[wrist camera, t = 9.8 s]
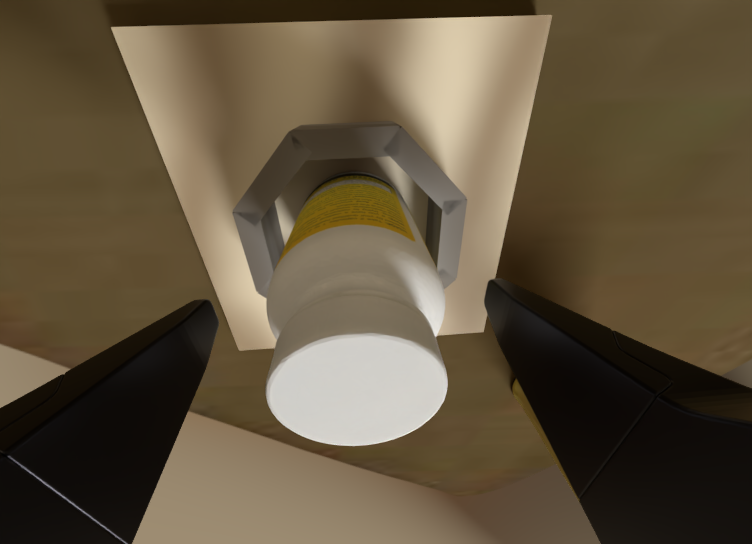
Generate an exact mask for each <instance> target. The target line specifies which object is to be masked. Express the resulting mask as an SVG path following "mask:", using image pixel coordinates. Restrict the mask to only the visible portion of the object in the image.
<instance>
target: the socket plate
mask: <svg viewBox="0 0 752 544" xmlns="http://www.w3.org/2000/svg"><path fill="white" fill-rule="evenodd" d="M551 19H552V15H531V16H495V17H459V18H422V19H386V20H350V21H314V22H278V23H241V24H205V25H169V26H133V27H111V29H112V32H113V34H114V37H115V39H116V42H117V44H118V47H119V49H120V52H121V54H122V57H123V59H124V62H125V64H126V67H127V69H128V72H129V74H130V77H131V79H132V82H133V85H134V87H135V90H136V92H137V95H138V97H139V100H140V102H141V105H142V107H143V110H144V112H145V115H146V117H147V120H148V122H149V125H150V127H151V130H152V132H153V135H154V137H155V140H156V142H157V145H158V147H159V150H160V152H161V155H162V158H163V160H164V163H165V165H166V168H167V170H168V173H169V175H170V178H171V180H172V183H173V185H174V188H175V190H176V193H177V195H178V198H179V200H180V203H181V205H182V208H183V210H184V213H185V215H186V218H187V220H188V223H189V225H190V228H191V231H192V233H193V236H194V238H195V241H196V243H197V246H198V248H199V251H200V253H201V256H202V258H203V261H204V263H205V266H206V268H207V271H208V273H209V276H210V278H211V281H212V283H213V286H214V288H215V291H216V293H217V296H218V298H219V301H220V304H221V306H222V309H223V311H224V314H225V316H226V319H227V321H228V324H229V326H230V329H231V331H232V334H233V336H234V339H235V341H236V344H237V346H238V349H239V351H242V350H255V349H268V348H275V346H276V342H277V340H276V338H275V337H274V335H273V333H272V331H271V328H270V325H269V321H268V317H267V310H266V301H267V293H268V288H269V285H270V281H271V278H272V275H273V273H274V270H275V268H276V266H277V263H278V261H279V259H280V257H281V254H282V252H283V250H284V248H285V245H286V243H287V241H288V238H289V236H290V234H291V232H292V229H293V227H294V225H295V223H296V220H297V218H298V216H299V213H300V211H301V209H302V206H303V204H304V203H305V201H306V199H307V198H308V197H309V195H310V194H311V192H312V191H313V190H314V189H315V188H316V187H317V186H318V185H319V184H320V183H322V182H323V181H324V180H326V179H328V178H330V177H332V176H334V175H337V174H340V173H345V172H365V173H370V174H373V175H376V176H378V177H380V178H382V179H384V180H386V181H387V182H389V183H390V184H391V185H392V186H394V187H395V188H396V190H397V191H398V192H399V193H400V194H401V196H402V197H403V199H404V201H405V203H406V204H407V206H408V208H409V210H410V213H411V215H412V217H413V219H414V221H415V223H416V226H417V228H418V230H419V232H420V234H421V236H422V238H423V240H424V242H425V245H426V247H427V249H428V251H429V253H430V255H431V257H432V259H433V261H434V263H435V265H436V267H437V270H438V273H439V276H440V278H441V281H442V284H443V288H444V293H445V313H444V319H443V322H442V325H441V327H440V330H439V332H438V334H437V335H450V334H463V333H476V332H484V327H485V323H486V318H487V311H486V308H485V305H484V298H485V293H486V288H487V283H488V281H489V280H490V279H495V277H496V272H497V268H498V263H499V258H500V254H501V249H502V245H503V240H504V235H505V231H506V226H507V221H508V217H509V212H510V208H511V203H512V198H513V194H514V189H515V185H516V180H517V175H518V171H519V166H520V162H521V157H522V152H523V148H524V143H525V139H526V134H527V129H528V125H529V120H530V115H531V111H532V106H533V102H534V97H535V92H536V88H537V83H538V79H539V74H540V69H541V65H542V60H543V56H544V51H545V46H546V42H547V37H548V33H549V28H550V23H551Z"/></svg>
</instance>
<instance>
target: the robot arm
mask: <svg viewBox="0 0 752 544" xmlns="http://www.w3.org/2000/svg"><path fill="white" fill-rule="evenodd" d="M484 305H485V308H486V311H487V314H488V316H489V319H490V322H491V324H492V327H493V330H494V332H495V335H496V338H497V340H498V343H499V345H500V347H501V349H502V351H503V353H504V355H505V357H506V359H507V361H508V363H509V365H510V367H511V369H512V371H513V373H514V375H515V377H516V379H517V381H518V383H519V384H520V386H521V388H522V390H523V392H524V394H525V396H526V398H527V400H528V402H529V404H530V406H531V408H532V410H533V412H534V414H535V416H536V418H537V420H538V422H539V423H540V425H541V427H542V429H543V431H544V433H545V435H546V437H547V439H548V441H549V443H550V445H551V447H552V449H553V451H554V453H555V455H556V457H557V459H558V460H559V462H560V464H561V466H562V468H563V470H564V472H565V474H566V476H567V478H568V480H569V482H570V484H571V486H572V488H573V490H574V492H575V494H576V496H577V497H578V499H580V500H579V502H580V504H581V506H582V508H583V510H584V512H585V514H586V515H587V517H588V519H589V521H590V523H591V525H592V527H593V529H594V531H595V533H596V535H597V537H598V539H599V541H600V543H601V544H752V388H749V387H746V386H744V385H741V384H739V383H737V382H734V381H732V380H729V379H727V378H724V377H722V376H719V375H717V374H715V373H712V372H710V371H707V370H705V369H702V368H700V367H697V366H695V365H693V364H690V363H688V362H685V361H683V360H680V359H678V358H676V357H673V356H671V355H668V354H666V353H664V352H661V351H659V350H656V349H654V348H652V347H649V346H647V345H645V344H643V343H640V342H638V341H636V340H634V339H632V338H629V337H627V336H625V335H623V334H621V333H619V332H616V331H612V330H611V329H610V328H608V327H606V326H603V325H601V324H599V323H597V322H595V321H593V320H590V319H588V318H586V317H584V316H582V315H580V314H577V313H575V312H573V311H571V310H569V309H567V308H564V307H562V306H560V305H558V304H556V303H554V302H552V301H549V300H547V299H545V298H543V297H541V296H539V295H536V294H534V293H532V292H530V291H528V290H526V289H524V288H521V287H519V286H517V285H515V284H513V283H511V282H508V281H506V280H504V279H490V280H489V281H488V283H487V288H486V293H485V298H484ZM218 326H219V320H218V317H217V315H216V312H215V310H214V308H213V305H212V303H211V301H210V300H208V299H201V300H194V301H192V302H190V303H188V304H186V305H185V306H183V307H181V308H179V309H178V310H176V311H174V312H172V313H170V314H169V315H167V316H165V317H163V318H161V319H160V320H158V321H156V322H154V323H153V324H151V325H149V326H147V327H145V328H144V329H142V330H140V331H138V332H137V333H135V334H133V335H131V336H129V337H128V338H126V339H124V340H122V341H121V342H119V343H117V344H115V345H113V346H112V347H110V348H108V349H106V350H105V351H103V352H101V353H99V354H97V355H96V356H94V357H92V358H90V359H89V360H87V361H85V362H83V363H81V364H80V365H78V366H76V367H74V368H73V369H71V370H69V371H68V372H66V373H65V375H60V376H58V377H56V378H55V379H53V380H51V381H49V382H47V383H46V384H44V385H42V386H41V387H38V388H37V389H35V390H33V391H31V392H29V393H28V394H26V395H24V396H22V397H20V398H18V399H17V400H15V401H13V402H11V403H9V404H7V405H5V406H3V407H1V408H0V544H132V542H133V540H134V538H135V535H136V533H137V531H138V528H139V526H140V523H141V521H142V519H143V516H144V514H145V512H146V509H147V507H148V504H149V502H150V500H151V497H152V495H153V493H154V490H155V488H156V486H157V483H158V481H159V479H160V476H161V474H162V471H163V469H164V467H165V464H166V462H167V460H168V457H169V455H170V453H171V450H172V448H173V445H174V443H175V441H176V438H177V436H178V434H179V431H180V429H181V427H182V424H183V422H184V419H185V417H186V415H187V412H188V410H189V408H190V405H191V403H192V401H193V398H194V396H195V393H196V391H197V389H198V386H199V384H200V382H201V379H202V377H203V374H204V372H205V369H206V366H207V363H208V360H209V357H210V354H211V350H212V347H213V343H214V340H215V337H216V333H217V330H218Z"/></svg>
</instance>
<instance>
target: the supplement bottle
mask: <svg viewBox="0 0 752 544" xmlns="http://www.w3.org/2000/svg"><path fill="white" fill-rule="evenodd" d="M266 310H267V317H268V321H269V325H270V328H271V331H272V333H273V335H274V337H275V338H276V340H277V342H276V346H275V350H274V355H273V359H272V362H271V366H270V369H269V373H268V376H267V381H266V398H267V402H268V405H269V407H270V409H271V411H272V413H273V414H274V415H275V417H276V418H277V419H278V420H279V421H280V422H281V423H282V424H283V425H284V426H286V427H287V428H289V429H290V430H292V431H293V432H295V433H297V434H299V435H301V436H303V437H305V438H308V439H311V440H314V441H318V442H322V443H327V444H333V445H346V446H358V445H370V444H376V443H381V442H385V441H389V440H393V439H396V438H398V437H401V436H404V435H406V434H408V433H410V432H412V431H414V430H415V429H417V428H419V427H420V426H422V425H423V424H424V423H426V422H427V421H428V420H429V419H430V418H431V417H432V416H433V415H435V413H436V412H437V411H438V410H439V408H440V406H441V405H442V403H443V401H444V399H445V396H446V393H447V386H448V383H447V373H446V368H445V365H444V362H443V359H442V356H441V353H440V350H439V347H438V343H437V340H436V336H437V334H438V332H439V330H440V327H441V325H442V322H443V319H444V313H445V293H444V288H443V284H442V281H441V278H440V276H439V273H438V270H437V267H436V265H435V263H434V261H433V259H432V257H431V255H430V253H429V251H428V249H427V247H426V245H425V242H424V240H423V238H422V236H421V234H420V232H419V230H418V228H417V226H416V223H415V221H414V219H413V217H412V215H411V213H410V210H409V208H408V206H407V204H406V203H405V201H404V199H403V197H402V196H401V194H400V193H399V192H398V191H397V190H396V188H395V187H394V186H392V185H391V184H390V183H389V182H387V181H386V180H384V179H382V178H380V177H378V176H376V175H373V174H370V173H365V172H345V173H340V174H337V175H334V176H332V177H330V178H328V179H326V180H324V181H323V182H322V183H320V184H319V185H318V186H317V187H316V188H315V189H314V190H313V191H312V192H311V194H310V195H309V197H308V198H307V199H306V201H305V203H304V204H303V206H302V209H301V211H300V213H299V216H298V218H297V220H296V223H295V225H294V227H293V229H292V232H291V234H290V236H289V238H288V241H287V243H286V245H285V248H284V250H283V252H282V254H281V257H280V259H279V261H278V263H277V266H276V268H275V270H274V273H273V275H272V278H271V281H270V285H269V288H268V293H267V301H266Z"/></svg>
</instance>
